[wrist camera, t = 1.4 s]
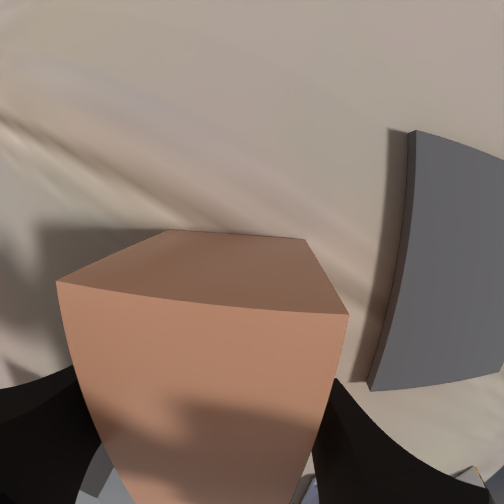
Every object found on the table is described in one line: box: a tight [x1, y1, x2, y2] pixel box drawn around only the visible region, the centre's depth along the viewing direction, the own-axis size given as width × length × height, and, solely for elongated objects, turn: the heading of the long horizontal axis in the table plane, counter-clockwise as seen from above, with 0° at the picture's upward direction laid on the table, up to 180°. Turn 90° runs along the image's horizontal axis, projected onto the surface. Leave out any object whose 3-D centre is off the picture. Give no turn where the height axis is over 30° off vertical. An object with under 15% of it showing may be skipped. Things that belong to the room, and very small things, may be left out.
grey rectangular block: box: [75, 443, 135, 504], centre depth 11 cm, size 6×6×7 cm
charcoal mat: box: [366, 130, 504, 392], centre depth 10 cm, size 12×10×1 cm
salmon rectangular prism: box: [56, 230, 349, 504], centre depth 9 cm, size 10×6×7 cm, turn 176°
